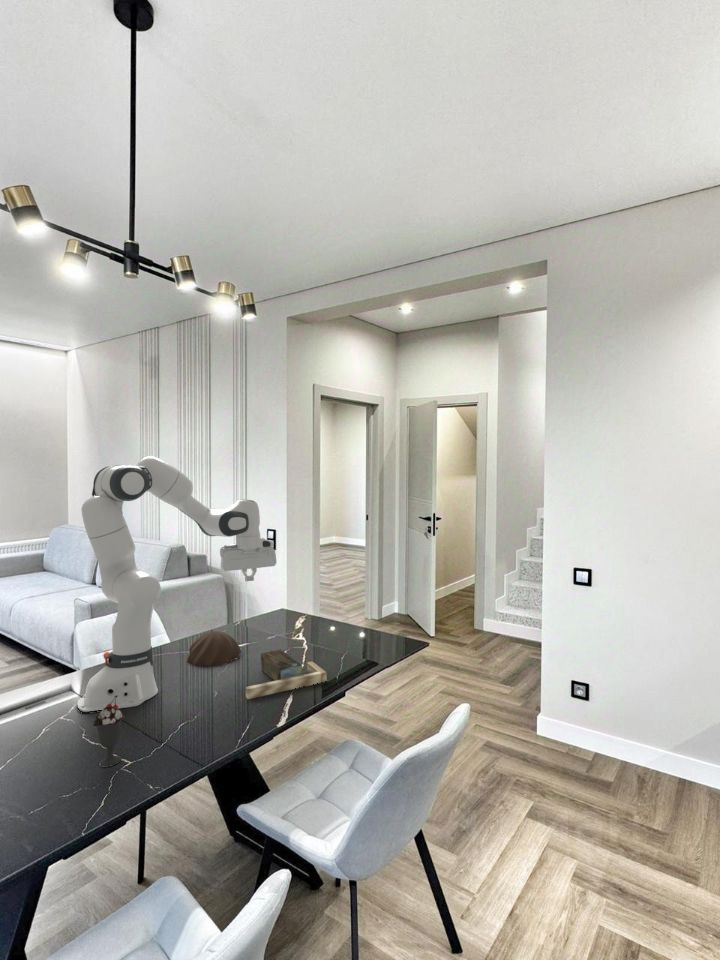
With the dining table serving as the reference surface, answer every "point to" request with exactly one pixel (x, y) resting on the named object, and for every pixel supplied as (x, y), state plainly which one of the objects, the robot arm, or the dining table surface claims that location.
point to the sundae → (109, 731)
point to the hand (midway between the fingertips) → (249, 580)
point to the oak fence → (288, 682)
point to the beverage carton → (280, 665)
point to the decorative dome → (213, 649)
